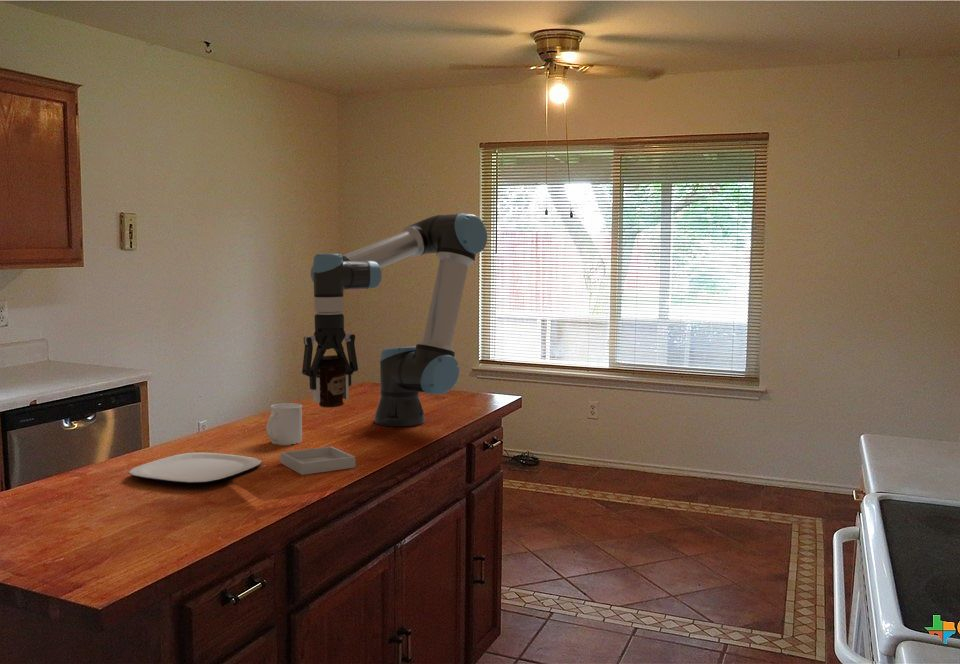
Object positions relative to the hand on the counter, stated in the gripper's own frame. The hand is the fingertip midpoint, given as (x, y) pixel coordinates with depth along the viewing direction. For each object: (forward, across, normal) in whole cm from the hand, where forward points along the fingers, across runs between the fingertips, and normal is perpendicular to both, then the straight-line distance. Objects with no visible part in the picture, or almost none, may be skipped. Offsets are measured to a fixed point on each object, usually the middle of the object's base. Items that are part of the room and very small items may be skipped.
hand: (331, 400), depth 216 cm
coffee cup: (+2, 0, 0) cm, 2 cm away
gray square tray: (+13, +10, +13) cm, 21 cm away
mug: (+14, +8, -14) cm, 21 cm away
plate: (+13, +36, +3) cm, 38 cm away
